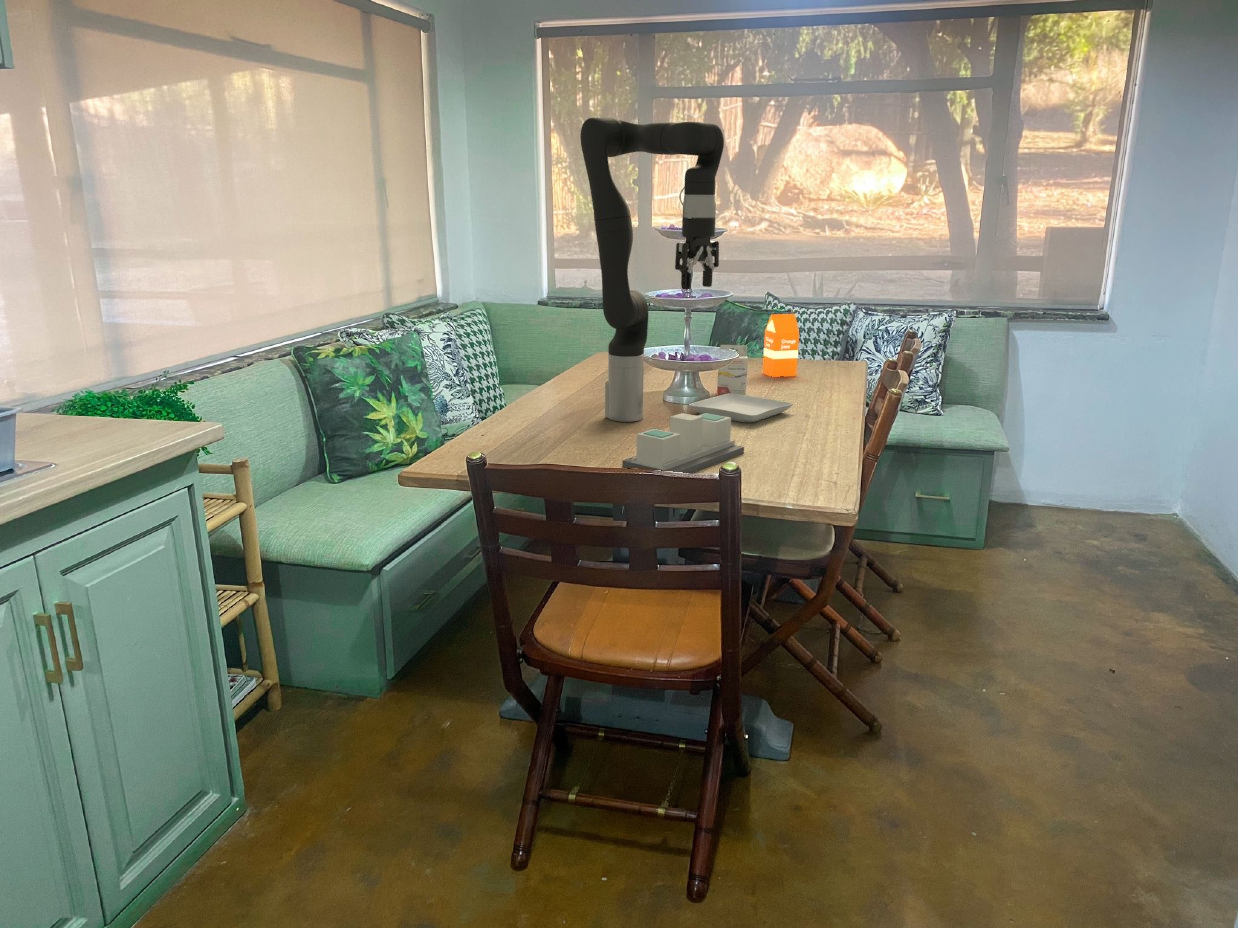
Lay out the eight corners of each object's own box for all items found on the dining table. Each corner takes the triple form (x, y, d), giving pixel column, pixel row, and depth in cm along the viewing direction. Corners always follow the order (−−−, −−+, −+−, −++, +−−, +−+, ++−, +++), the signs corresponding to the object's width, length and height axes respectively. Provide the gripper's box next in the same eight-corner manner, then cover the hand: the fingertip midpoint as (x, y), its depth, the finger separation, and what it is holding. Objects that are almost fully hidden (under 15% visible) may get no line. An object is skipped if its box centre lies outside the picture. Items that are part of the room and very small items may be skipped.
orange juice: (762, 373, 303) (765, 313, 297) (785, 371, 305) (789, 312, 300) (772, 377, 296) (776, 316, 290) (796, 375, 298) (800, 315, 292)
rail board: (622, 467, 195) (622, 430, 193) (693, 442, 215) (694, 409, 213) (674, 479, 186) (675, 442, 184) (743, 453, 206) (745, 418, 204)
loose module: (668, 451, 200) (669, 416, 198) (680, 447, 204) (681, 413, 201) (690, 456, 197) (691, 420, 195) (701, 451, 200) (702, 416, 198)
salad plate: (728, 403, 259) (728, 391, 258) (793, 414, 246) (794, 402, 245) (685, 416, 243) (686, 403, 242) (753, 428, 230) (754, 415, 229)
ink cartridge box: (717, 396, 266) (719, 347, 262) (716, 393, 271) (718, 344, 266) (746, 397, 265) (748, 347, 261) (745, 393, 270) (747, 345, 266)
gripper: (703, 215, 212) (700, 285, 217) (667, 215, 202) (665, 289, 206) (729, 215, 208) (726, 287, 212) (694, 216, 197) (692, 291, 202)
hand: (696, 288), depth 209 cm, fingers open, 8 cm apart
